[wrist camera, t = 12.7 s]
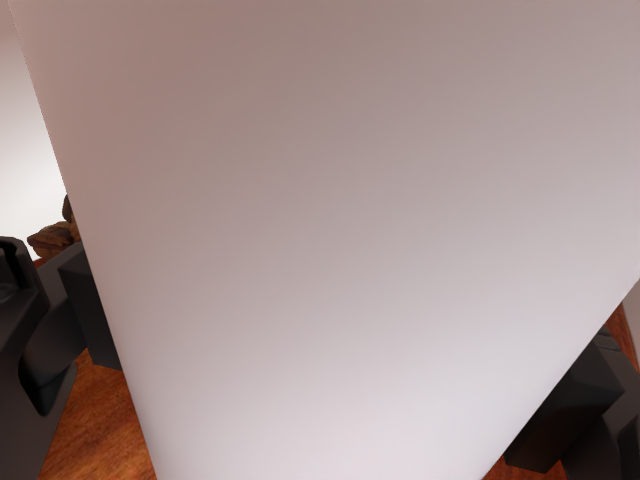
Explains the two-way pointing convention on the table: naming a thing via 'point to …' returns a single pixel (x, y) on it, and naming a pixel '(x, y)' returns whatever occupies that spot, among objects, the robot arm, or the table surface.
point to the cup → (344, 217)
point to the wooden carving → (56, 235)
